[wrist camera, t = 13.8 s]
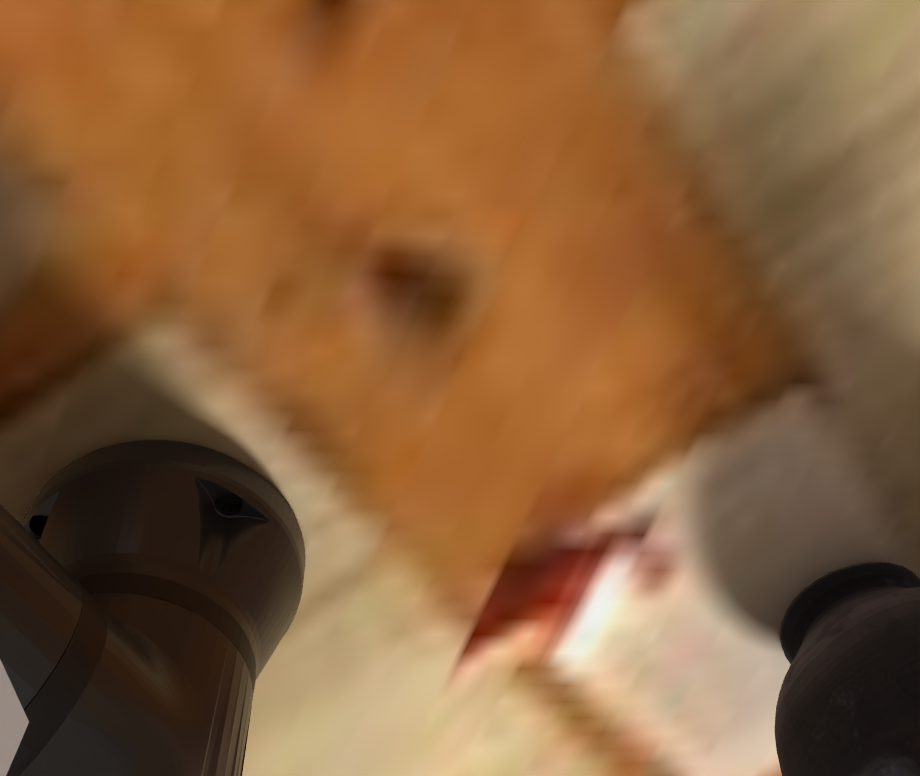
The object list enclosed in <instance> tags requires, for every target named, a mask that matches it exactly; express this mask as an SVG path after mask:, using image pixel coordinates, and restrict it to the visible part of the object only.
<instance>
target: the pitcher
mask: <svg viewBox="0 0 920 776" xmlns="http://www.w3.org/2000/svg"><path fill="white" fill-rule="evenodd" d="M781 642H782V648H783V651H784V654H785V656H786V658H787V659H788V661H789V662H790V664H791V666H790V668H789V670H788V672H787V674H786V676H785V678H784V681H783V684H782V687H781V690H780V693H779V697H778V702H777V707H776V717H775V739H776V748H777V754H778V758H779V763H780V768H781V772H782V776H920V579H919V578H918V577H917V576H916V575H915V574H914V573H913V572H911V571H909V570H908V569H906V568H904V567H902V566H898V565H894V564H891V563H867V564H860V565H855V566H851V567H848V568H844V569H841V570H838V571H835V572H831V573H829V574H827V575H825V576H824V577H822V578H820V579H818V580H816V581H815V582H814V583H812V584H811V585H810V586H809V587H807V588H806V589H805V590H803V591H802V592H801V593H800V594H799V595H798V596H797V598H796V599H795V600H794V601H793V602H792V604H791V605H790V607H789V608H788V610H787V612H786V615H785V617H784V619H783V622H782V628H781Z"/></svg>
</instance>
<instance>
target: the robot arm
mask: <svg viewBox="0 0 920 776" xmlns="http://www.w3.org/2000/svg"><path fill="white" fill-rule="evenodd" d="M304 570H305V547H304V541H303V537H302V533H301V530H300V527H299V524H298V522H297V520H296V518H295V516H294V514H293V512H292V510H291V509H290V507H289V506H288V504H287V503H286V501H285V500H284V499H283V497H282V496H281V495H280V494H279V493H278V492H277V490H276V489H275V488H274V487H273V486H272V485H271V484H270V483H269V482H267V481H266V480H265V479H264V478H263V477H261V476H260V475H259V474H258V473H256V472H255V471H253V470H252V469H250V468H249V467H247V466H246V465H244V464H242V463H241V462H239V461H237V460H235V459H233V458H231V457H228V456H226V455H224V454H222V453H219V452H216V451H214V450H211V449H207V448H204V447H200V446H196V445H192V444H187V443H181V442H172V441H136V442H128V443H122V444H118V445H113V446H109V447H106V448H103V449H100V450H97V451H94V452H92V453H90V454H87V455H85V456H83V457H81V458H79V459H78V460H76V461H74V462H72V463H71V464H69V465H68V466H66V467H65V468H64V469H62V470H61V471H60V472H59V473H57V474H56V475H55V476H54V477H53V478H52V479H51V480H50V481H49V482H48V483H47V485H46V486H45V487H44V488H43V490H42V491H41V492H40V494H39V495H38V497H37V499H36V500H35V502H34V504H33V505H32V507H31V508H30V510H29V512H28V513H27V515H26V517H25V518H24V520H23V522H22V524H20V523H19V522H18V521H17V520H16V519H15V518H14V517H13V516H12V515H11V514H10V513H9V512H8V511H7V510H6V509H5V508H4V507H3V506H2V505H1V504H0V776H242V772H243V764H244V757H245V750H246V743H247V736H248V729H249V721H250V714H251V707H252V699H253V692H254V686H255V680H256V679H257V677H258V676H259V674H260V673H261V671H262V669H263V668H264V666H265V665H266V663H267V662H268V660H269V658H270V657H271V655H272V654H273V652H274V650H275V649H276V647H277V645H278V644H279V642H280V640H281V639H282V637H283V636H284V634H285V633H286V631H287V630H288V628H289V626H290V625H291V623H292V621H293V619H294V617H295V614H296V612H297V609H298V606H299V603H300V599H301V595H302V588H303V579H304Z"/></svg>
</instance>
